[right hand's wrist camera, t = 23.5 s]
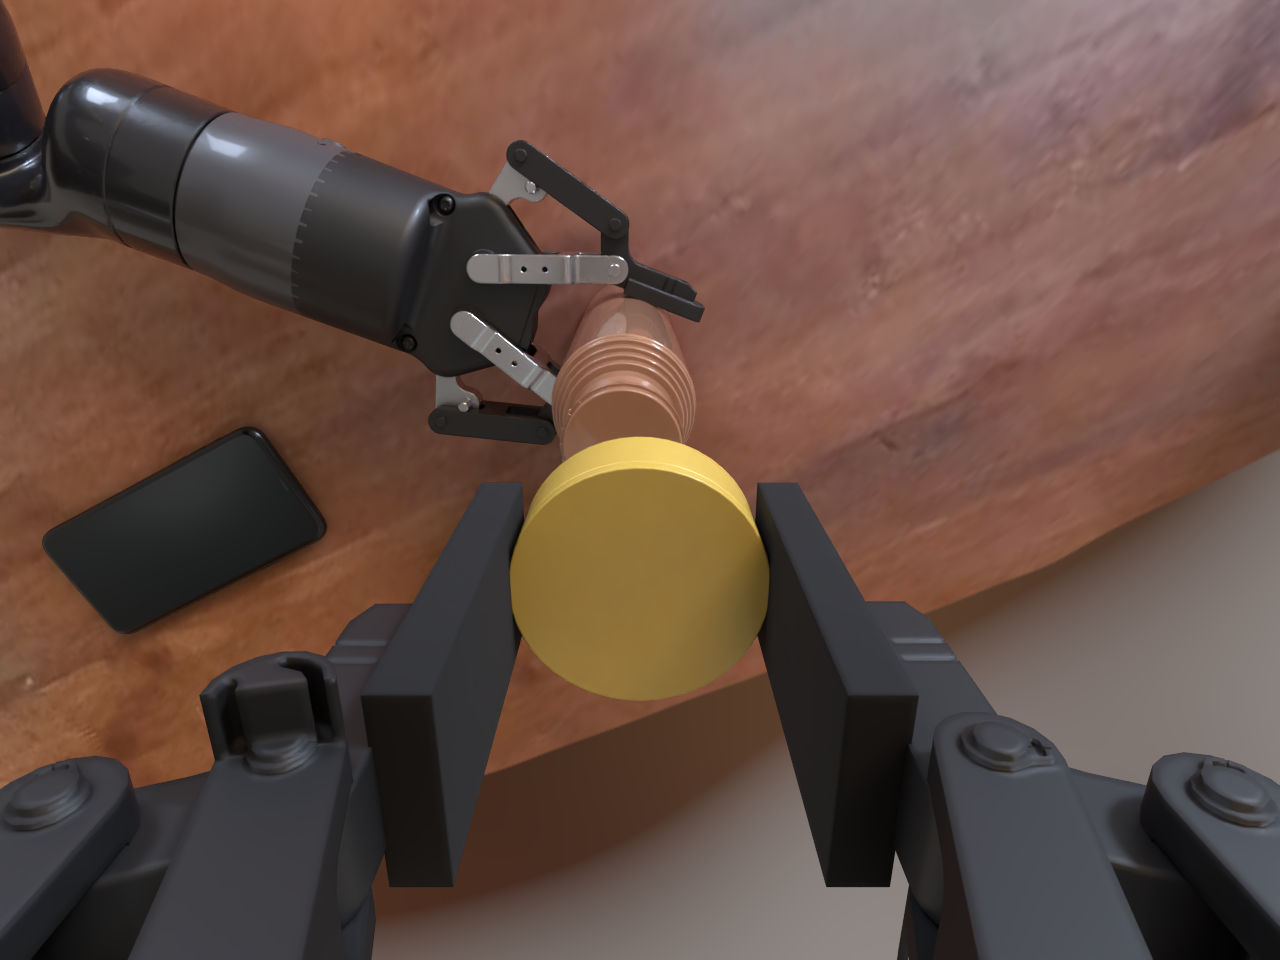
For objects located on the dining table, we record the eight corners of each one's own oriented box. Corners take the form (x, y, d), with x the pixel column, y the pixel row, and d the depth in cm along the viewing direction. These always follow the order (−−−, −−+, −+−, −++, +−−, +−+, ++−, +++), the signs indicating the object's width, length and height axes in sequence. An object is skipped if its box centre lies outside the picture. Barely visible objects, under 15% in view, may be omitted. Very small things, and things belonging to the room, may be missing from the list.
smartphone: (128, 634, 48) (337, 529, 45) (119, 641, 47) (331, 536, 44) (42, 533, 45) (257, 417, 43) (30, 539, 44) (249, 421, 42)
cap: (566, 670, 15) (557, 726, 14) (489, 474, 14) (468, 509, 12) (779, 615, 15) (797, 666, 13) (722, 406, 14) (735, 434, 12)
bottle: (577, 286, 41) (521, 371, 20) (665, 276, 40) (702, 351, 20) (588, 373, 42) (548, 536, 21) (673, 364, 42) (715, 519, 21)
